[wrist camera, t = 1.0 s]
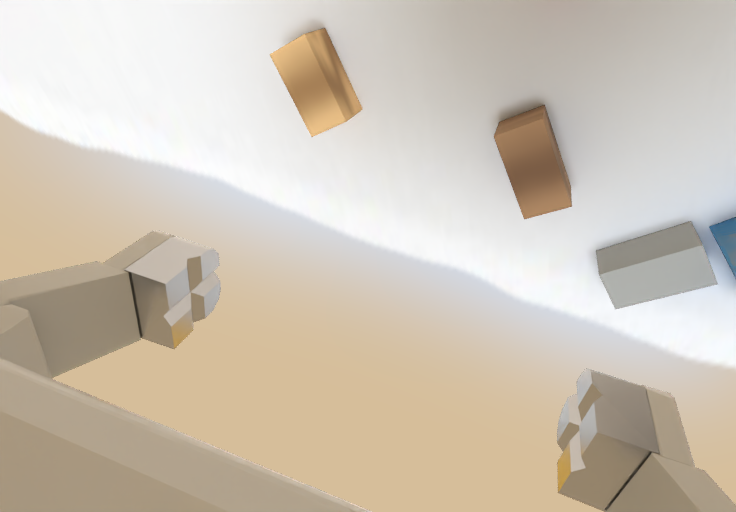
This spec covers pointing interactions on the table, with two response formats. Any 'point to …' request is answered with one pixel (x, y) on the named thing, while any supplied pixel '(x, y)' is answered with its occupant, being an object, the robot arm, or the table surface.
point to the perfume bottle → (727, 240)
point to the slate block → (655, 266)
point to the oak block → (316, 81)
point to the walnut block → (533, 163)
